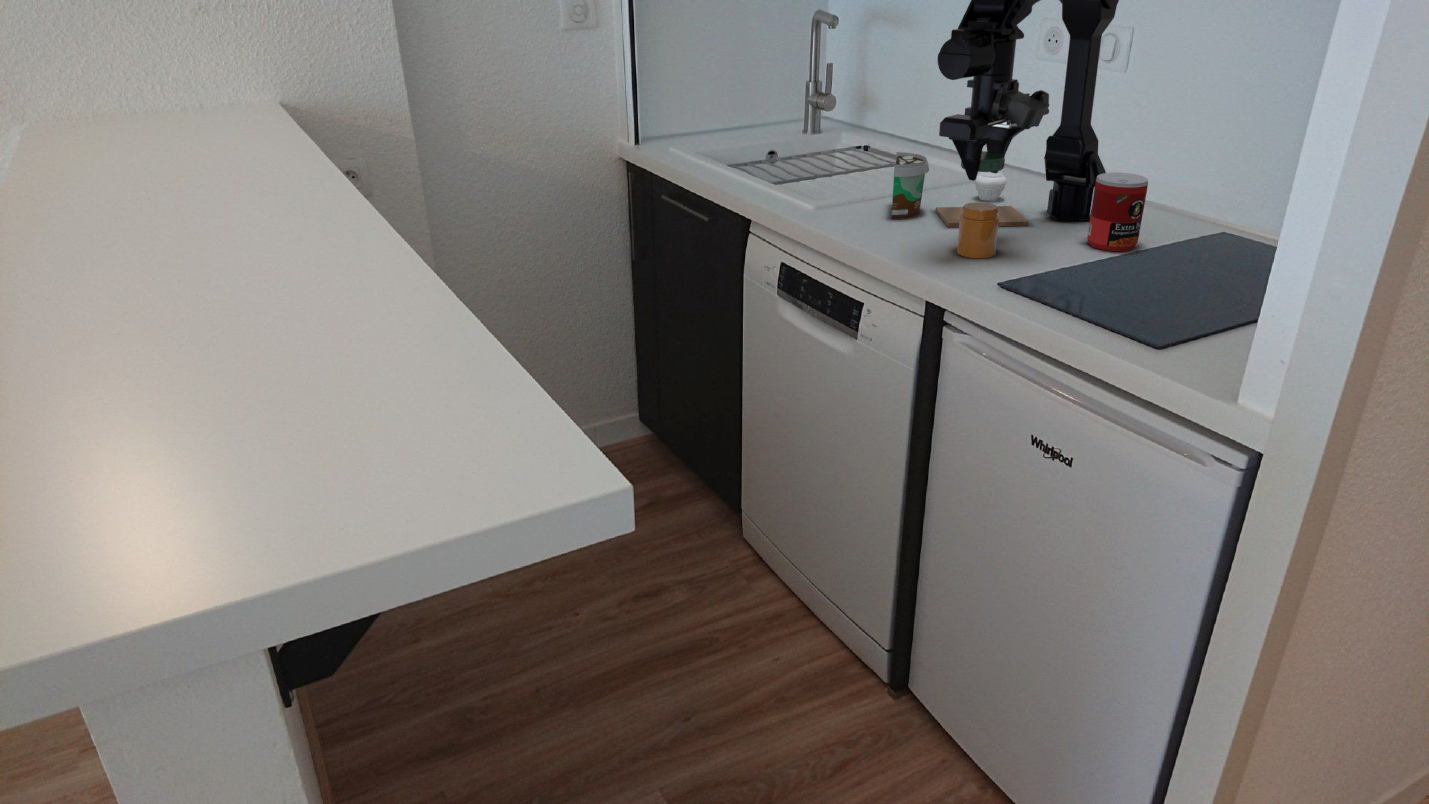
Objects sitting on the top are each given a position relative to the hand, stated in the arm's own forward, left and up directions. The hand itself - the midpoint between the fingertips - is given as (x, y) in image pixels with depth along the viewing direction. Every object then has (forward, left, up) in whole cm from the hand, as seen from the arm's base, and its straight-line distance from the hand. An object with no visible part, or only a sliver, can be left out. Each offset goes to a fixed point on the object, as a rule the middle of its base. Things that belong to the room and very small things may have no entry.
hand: (983, 176), depth 150 cm
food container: (+7, -24, -12) cm, 27 cm away
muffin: (-10, -33, -12) cm, 36 cm away
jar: (+1, +2, -12) cm, 12 cm away
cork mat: (-5, -19, -12) cm, 23 cm away
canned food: (-22, -1, -12) cm, 25 cm away
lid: (0, 0, +3) cm, 3 cm away
